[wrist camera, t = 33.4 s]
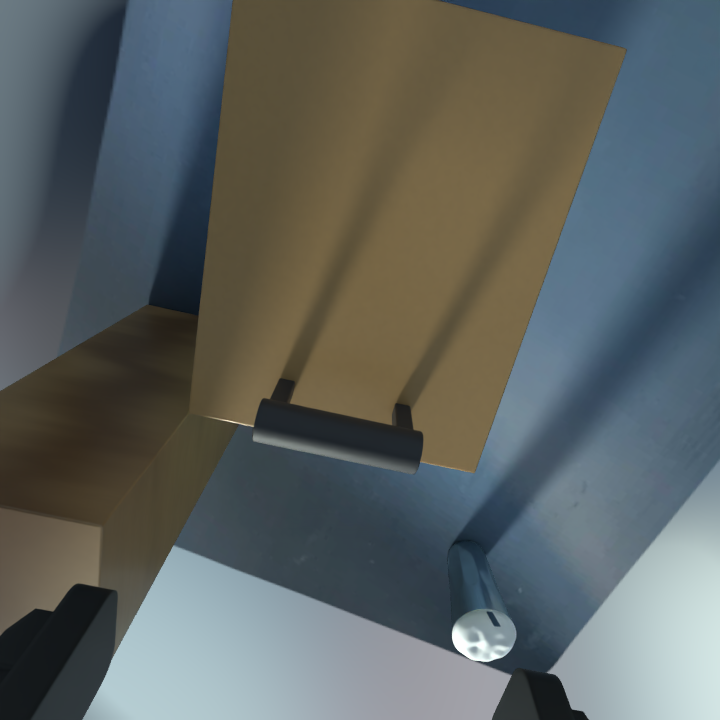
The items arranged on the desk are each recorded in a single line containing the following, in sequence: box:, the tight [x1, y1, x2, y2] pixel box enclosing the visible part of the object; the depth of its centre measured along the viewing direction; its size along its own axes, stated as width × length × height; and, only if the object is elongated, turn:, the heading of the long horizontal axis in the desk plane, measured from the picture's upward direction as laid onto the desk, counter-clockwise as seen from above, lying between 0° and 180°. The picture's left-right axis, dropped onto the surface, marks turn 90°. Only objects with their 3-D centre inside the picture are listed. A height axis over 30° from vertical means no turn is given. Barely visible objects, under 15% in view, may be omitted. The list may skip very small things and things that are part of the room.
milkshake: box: [447, 541, 516, 662], centre depth 39 cm, size 4×5×10 cm
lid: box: [188, 0, 627, 474], centre depth 18 cm, size 17×13×5 cm
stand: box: [0, 305, 239, 658], centre depth 28 cm, size 8×8×22 cm
